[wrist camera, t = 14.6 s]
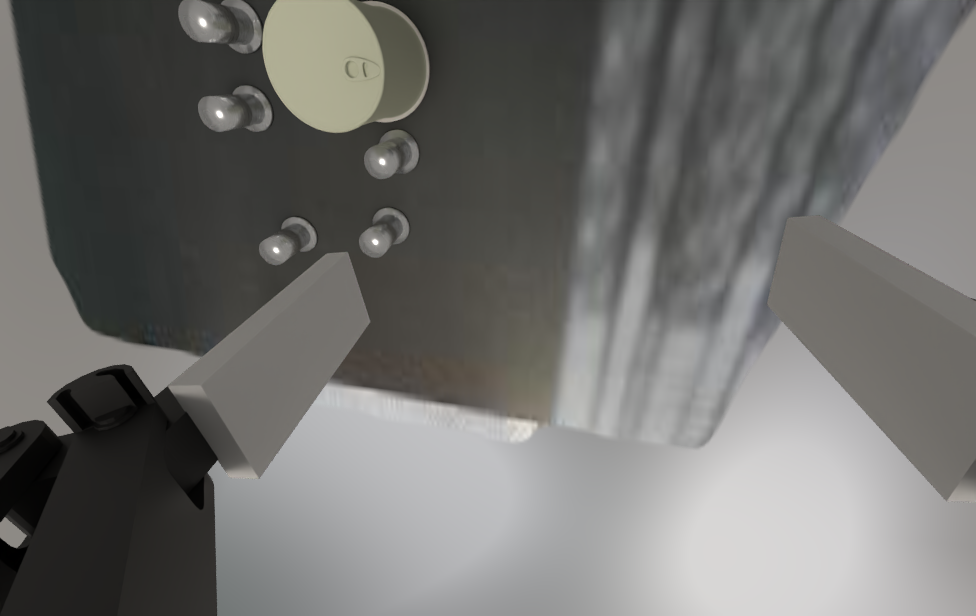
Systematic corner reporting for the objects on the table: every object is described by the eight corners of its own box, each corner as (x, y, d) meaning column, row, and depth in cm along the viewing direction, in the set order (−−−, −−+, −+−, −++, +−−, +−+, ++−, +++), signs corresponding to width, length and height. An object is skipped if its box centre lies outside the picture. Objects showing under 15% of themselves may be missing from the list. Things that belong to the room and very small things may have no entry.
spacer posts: (194, 6, 39) (140, -3, 34) (382, -33, 36) (353, -50, 31) (291, 251, 52) (262, 271, 46) (437, 239, 48) (424, 260, 43)
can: (427, 122, 41) (386, 140, 31) (339, 113, 42) (271, 128, 32) (426, 9, 36) (377, -13, 26) (327, 2, 37) (242, -23, 27)
